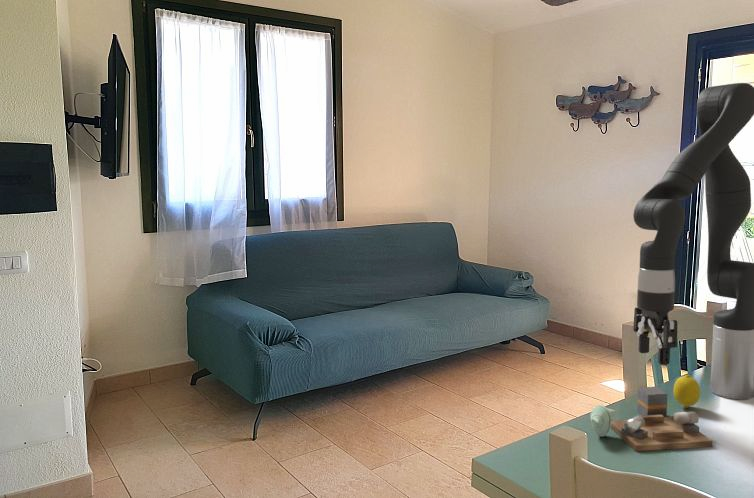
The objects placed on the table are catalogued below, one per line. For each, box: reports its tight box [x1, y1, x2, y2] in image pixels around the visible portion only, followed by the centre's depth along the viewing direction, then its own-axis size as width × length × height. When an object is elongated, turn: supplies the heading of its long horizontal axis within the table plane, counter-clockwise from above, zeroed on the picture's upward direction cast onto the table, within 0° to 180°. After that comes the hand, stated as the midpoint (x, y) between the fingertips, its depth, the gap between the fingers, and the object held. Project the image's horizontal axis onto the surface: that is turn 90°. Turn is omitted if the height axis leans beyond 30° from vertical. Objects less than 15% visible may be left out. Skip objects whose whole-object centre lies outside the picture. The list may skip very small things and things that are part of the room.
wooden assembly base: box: [610, 411, 713, 452], centre depth 125 cm, size 16×12×5 cm
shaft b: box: [622, 415, 648, 440], centre depth 123 cm, size 4×4×4 cm
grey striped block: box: [636, 386, 668, 417], centre depth 135 cm, size 5×5×6 cm
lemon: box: [673, 374, 701, 409], centre depth 138 cm, size 6×6×8 cm
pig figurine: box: [589, 404, 617, 438], centre depth 125 cm, size 8×4×7 cm, turn 131°
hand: (653, 358), depth 133 cm, fingers open, 8 cm apart
